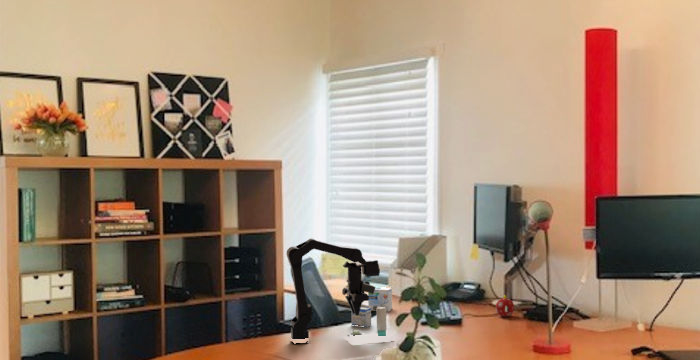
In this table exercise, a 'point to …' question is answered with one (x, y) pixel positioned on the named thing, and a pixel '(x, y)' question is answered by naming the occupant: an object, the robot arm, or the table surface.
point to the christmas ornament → (505, 307)
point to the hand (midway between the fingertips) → (355, 314)
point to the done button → (356, 332)
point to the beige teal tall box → (381, 321)
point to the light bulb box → (380, 298)
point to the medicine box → (362, 317)
